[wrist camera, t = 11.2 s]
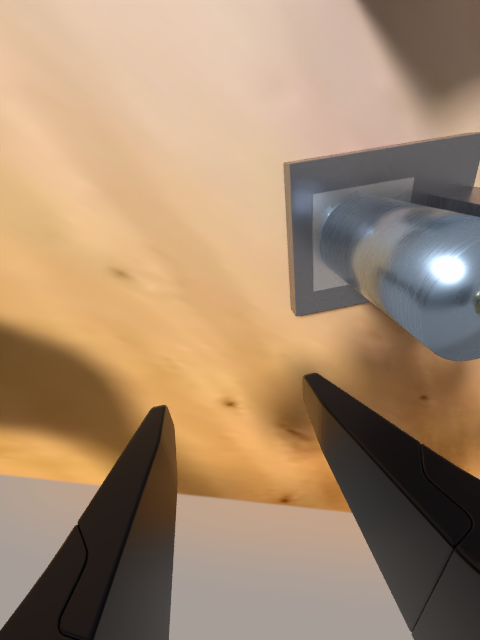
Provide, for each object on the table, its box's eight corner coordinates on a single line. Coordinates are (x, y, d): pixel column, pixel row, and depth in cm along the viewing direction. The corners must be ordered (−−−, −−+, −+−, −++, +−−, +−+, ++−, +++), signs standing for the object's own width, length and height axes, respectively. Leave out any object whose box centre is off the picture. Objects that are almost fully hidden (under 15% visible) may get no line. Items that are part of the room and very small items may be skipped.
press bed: (293, 355, 25) (354, 472, 16) (283, 163, 18) (385, 180, 9) (426, 327, 26) (555, 423, 17) (470, 132, 19) (737, 121, 10)
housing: (362, 287, 21) (506, 396, 12) (303, 255, 20) (414, 351, 10) (412, 219, 20) (632, 281, 10) (352, 177, 18) (547, 202, 8)
